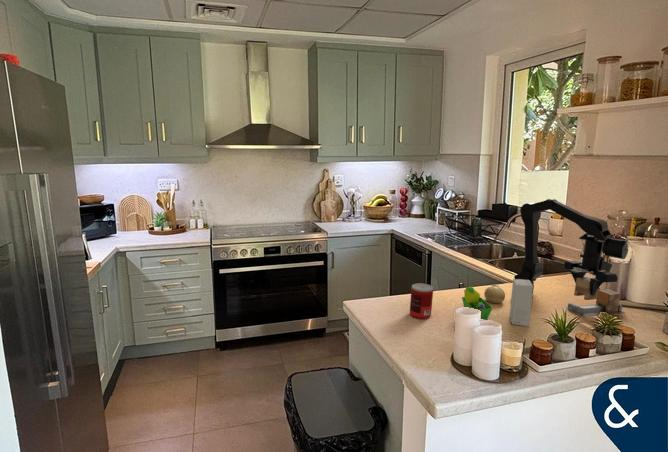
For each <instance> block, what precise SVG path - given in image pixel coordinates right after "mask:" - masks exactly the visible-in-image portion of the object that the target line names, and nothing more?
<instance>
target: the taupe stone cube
mask: <svg viewBox="0 0 668 452" xmlns="http://www.w3.org/2000/svg"><path fill="white" fill-rule="evenodd" d="M621 295H622V294H621V293H619V292H617V291H614V290H612V289H609V288H607V289H606V288H605V289H604V288H603V289H598V294H597V299H595V300H596V302H595V305H603V306H606V311H607V312H613V311H618V307H619V304H620V300H621Z"/></svg>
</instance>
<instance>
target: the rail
mask: <svg viewBox="0 0 668 452" xmlns="http://www.w3.org/2000/svg"><path fill="white" fill-rule="evenodd" d="M564 309H567V310H569V311H570V312H572V313H575V314H577V315H579V316H582V317H584V318H585V317H586V318H587V317H596V316H600V315H599V314H600V312H606V313H608V314H607V315H616V314H625V313H626V312H625V311H622V310H623V304H621V303H619V307H618V311H613V312H607V311H606V306H603V305H596V304H588V305H576V304H574V303H572V302H568V304H567V307H564Z"/></svg>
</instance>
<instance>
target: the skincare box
mask: <svg viewBox="0 0 668 452" xmlns="http://www.w3.org/2000/svg"><path fill="white" fill-rule="evenodd" d="M532 291H533V292H534V289H533V285H532V283H531V282H530V280H522V279H514V278H513V279H512V289H511V299H510V309H509V318H510V322H511V324H512V325H515V326H516V325H517V326H521V327H527V328H529V327H530V320H531V311H532V310H531V309H532V299H533V294H532Z"/></svg>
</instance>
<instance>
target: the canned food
mask: <svg viewBox="0 0 668 452" xmlns="http://www.w3.org/2000/svg"><path fill="white" fill-rule="evenodd" d="M410 289H411V290H410V291H411V292H410V303H409V314H410V316H411V317H412V318H414V319H417V320H428V319H430V317H431V316H432V307H433V299H434V298H433V296H434V286H432V285H430V284H427V283H421V282H420V283H414V284H413V283H412V285H411V287H410Z"/></svg>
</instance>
